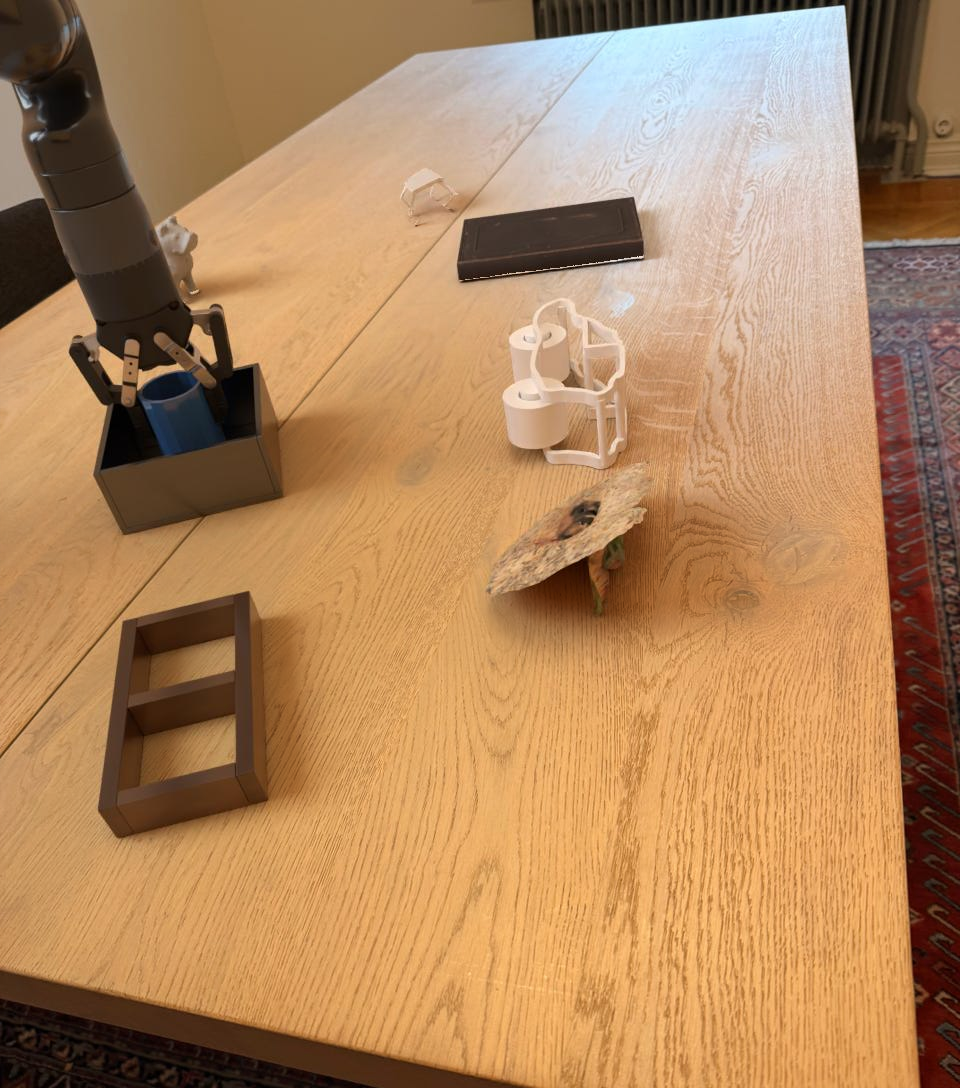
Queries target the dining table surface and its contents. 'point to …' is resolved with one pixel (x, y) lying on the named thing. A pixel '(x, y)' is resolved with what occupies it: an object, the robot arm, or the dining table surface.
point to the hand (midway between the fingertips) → (186, 427)
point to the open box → (193, 462)
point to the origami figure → (422, 182)
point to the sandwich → (577, 535)
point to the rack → (184, 717)
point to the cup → (179, 412)
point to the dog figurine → (178, 251)
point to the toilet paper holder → (542, 396)
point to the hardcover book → (549, 238)
